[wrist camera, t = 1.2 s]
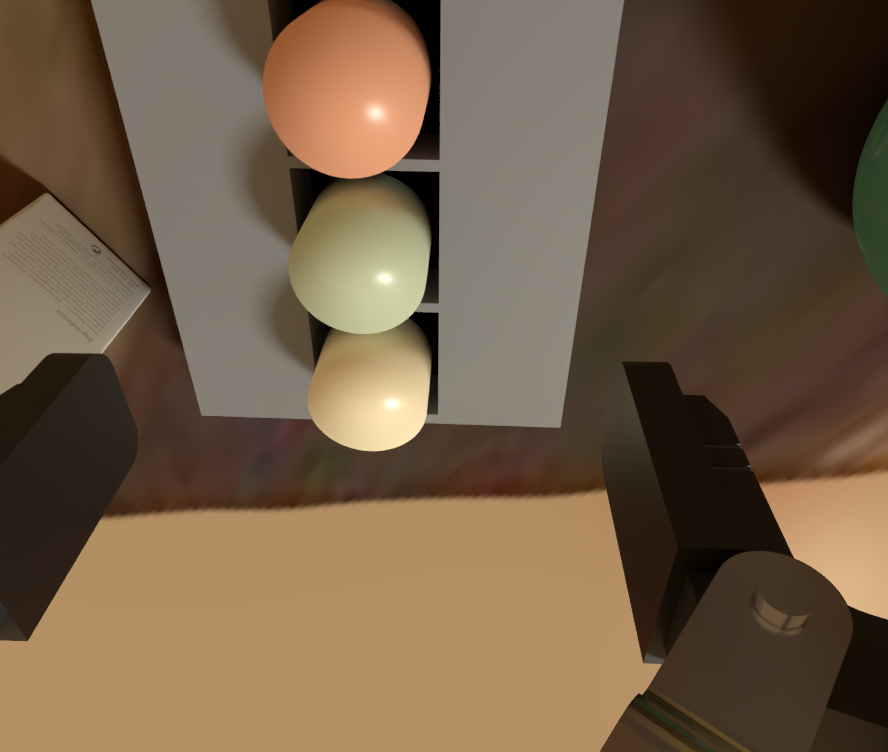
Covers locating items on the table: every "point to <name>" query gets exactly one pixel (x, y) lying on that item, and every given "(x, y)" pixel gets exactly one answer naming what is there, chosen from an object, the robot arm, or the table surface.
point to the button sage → (362, 254)
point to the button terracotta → (348, 86)
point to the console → (451, 153)
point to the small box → (58, 289)
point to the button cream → (372, 387)
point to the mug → (873, 200)
